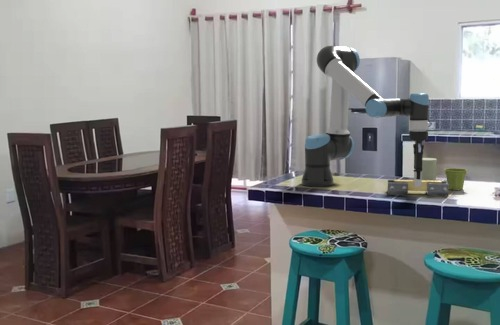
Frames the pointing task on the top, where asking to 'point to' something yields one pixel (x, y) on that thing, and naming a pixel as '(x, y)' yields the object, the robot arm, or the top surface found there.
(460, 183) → the plant pot
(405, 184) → the chain end left
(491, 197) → the top surface
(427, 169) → the can
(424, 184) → the yellow wooden bar
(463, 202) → the top surface
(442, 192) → the chain end right
